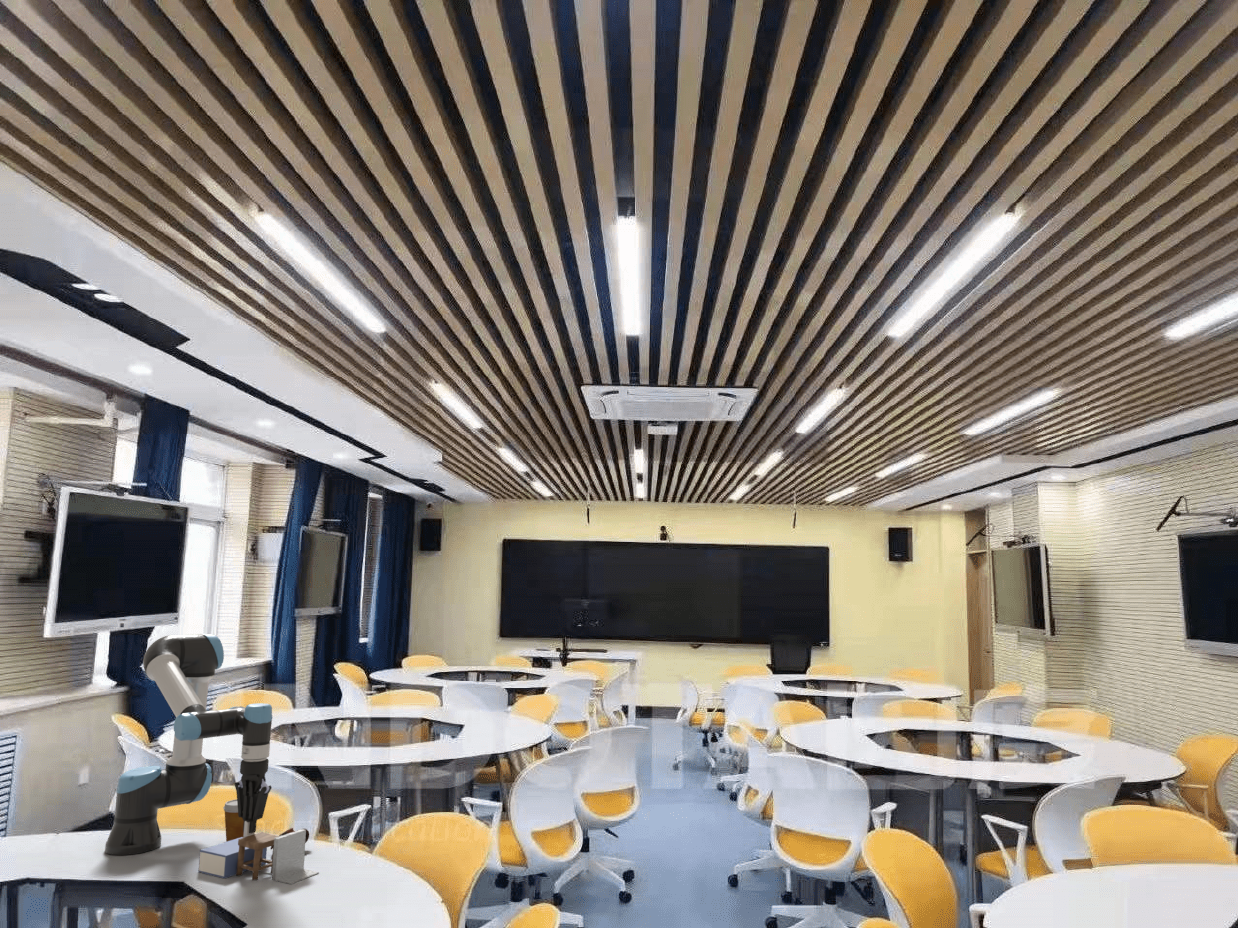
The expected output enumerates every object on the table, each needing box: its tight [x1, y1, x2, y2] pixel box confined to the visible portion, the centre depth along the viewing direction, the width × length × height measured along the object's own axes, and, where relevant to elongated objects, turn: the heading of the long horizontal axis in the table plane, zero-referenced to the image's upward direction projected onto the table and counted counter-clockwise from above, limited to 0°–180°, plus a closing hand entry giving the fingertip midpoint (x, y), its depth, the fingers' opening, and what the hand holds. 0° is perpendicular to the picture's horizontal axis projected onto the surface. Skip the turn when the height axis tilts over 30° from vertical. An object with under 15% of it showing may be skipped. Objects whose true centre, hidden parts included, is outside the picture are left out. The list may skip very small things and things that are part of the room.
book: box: [198, 837, 268, 879], centre depth 243 cm, size 11×14×6 cm
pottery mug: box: [270, 827, 310, 850], centre depth 258 cm, size 12×10×8 cm
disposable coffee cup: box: [222, 798, 244, 842], centre depth 269 cm, size 10×10×12 cm
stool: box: [236, 831, 279, 881], centre depth 239 cm, size 10×8×8 cm
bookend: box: [271, 828, 320, 885], centre depth 237 cm, size 8×10×11 cm
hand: (248, 843), depth 241 cm, fingers closed
